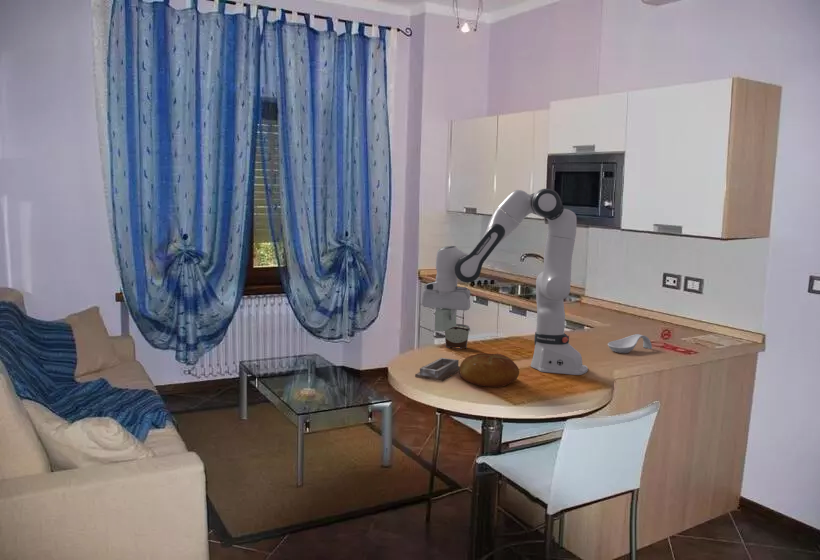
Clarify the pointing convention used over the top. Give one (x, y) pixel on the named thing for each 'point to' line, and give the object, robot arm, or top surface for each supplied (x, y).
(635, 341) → the spoon rest
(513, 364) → the bread
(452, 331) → the food container
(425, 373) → the grey rectangular tray
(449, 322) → the pale green rectangular block
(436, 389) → the top surface
